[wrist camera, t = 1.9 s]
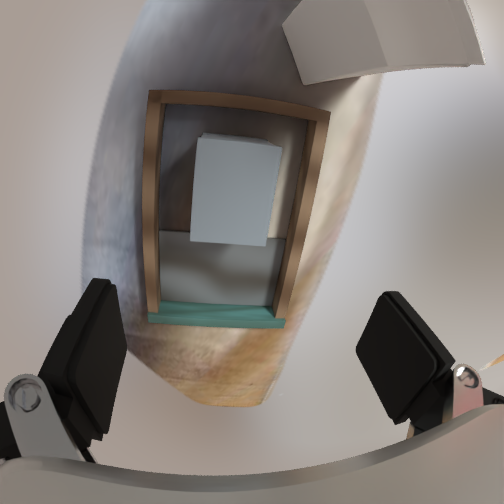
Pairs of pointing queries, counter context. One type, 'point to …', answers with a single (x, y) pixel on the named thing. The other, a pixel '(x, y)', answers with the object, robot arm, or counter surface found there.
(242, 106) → the bay
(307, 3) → the milk carton
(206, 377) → the counter surface
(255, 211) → the grey block
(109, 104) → the counter surface
